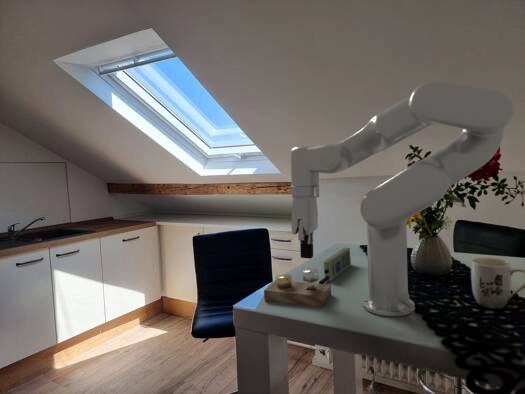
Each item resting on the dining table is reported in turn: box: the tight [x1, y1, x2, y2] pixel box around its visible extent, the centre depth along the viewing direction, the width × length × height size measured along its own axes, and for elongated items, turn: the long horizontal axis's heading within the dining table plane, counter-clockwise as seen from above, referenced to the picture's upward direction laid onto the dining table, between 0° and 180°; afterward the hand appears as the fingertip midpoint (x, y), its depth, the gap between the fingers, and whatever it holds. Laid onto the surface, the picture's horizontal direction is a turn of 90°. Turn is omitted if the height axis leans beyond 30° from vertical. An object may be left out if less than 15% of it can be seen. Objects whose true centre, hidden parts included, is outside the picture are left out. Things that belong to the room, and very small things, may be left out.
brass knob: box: [275, 273, 293, 288], centre depth 106 cm, size 4×4×6 cm
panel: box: [263, 280, 332, 308], centre depth 105 cm, size 17×9×3 cm, turn 66°
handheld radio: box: [318, 247, 352, 284], centre depth 123 cm, size 7×3×25 cm
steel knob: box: [301, 267, 320, 291], centre depth 103 cm, size 4×4×6 cm
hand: (306, 257), depth 102 cm, fingers closed
